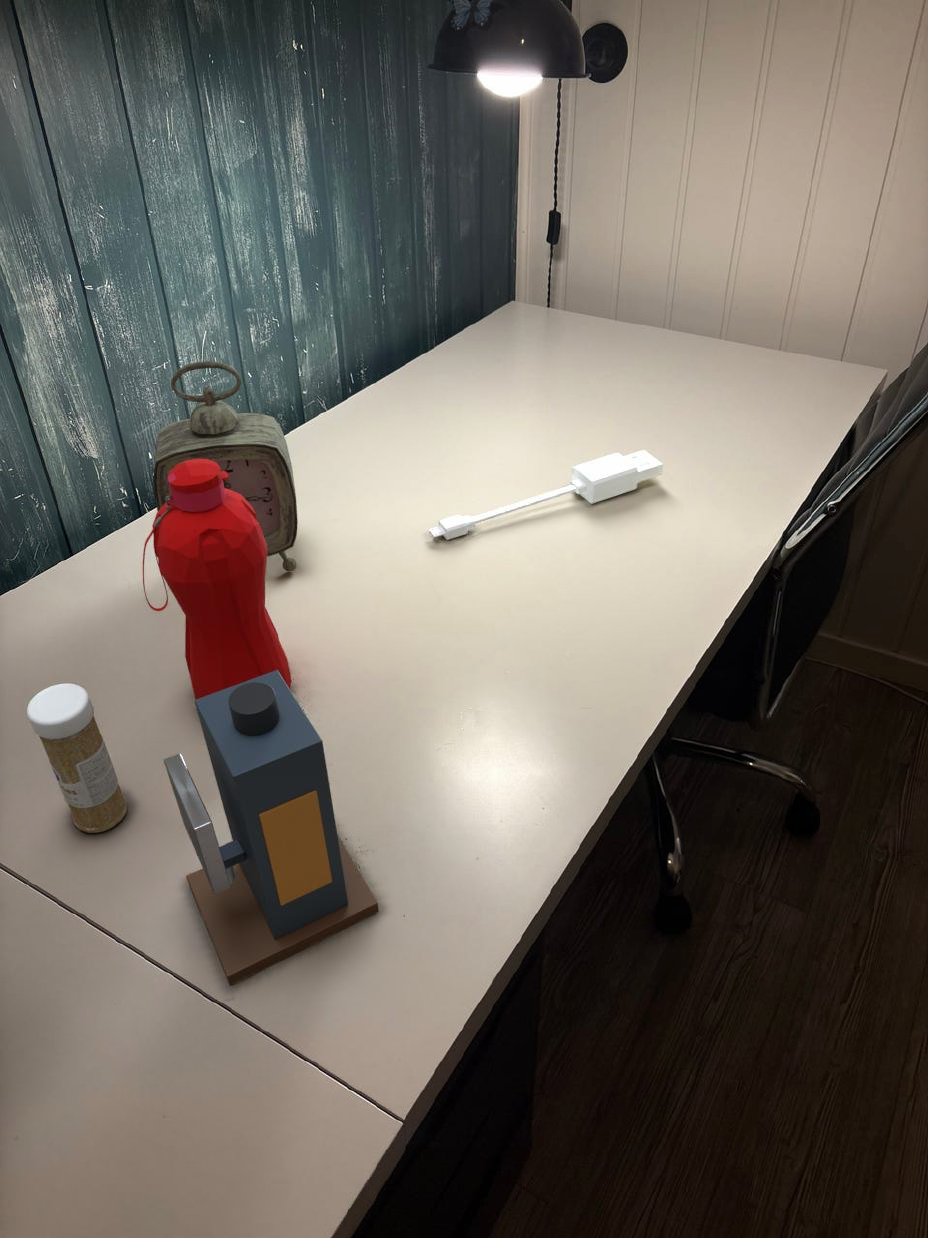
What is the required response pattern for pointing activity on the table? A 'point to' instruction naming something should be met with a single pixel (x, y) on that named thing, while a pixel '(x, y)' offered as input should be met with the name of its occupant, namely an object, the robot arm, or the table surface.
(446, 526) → the charging cable
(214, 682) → the water bottle
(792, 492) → the table surface
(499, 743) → the table surface
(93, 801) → the sprinkles bottle
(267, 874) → the dispenser
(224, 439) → the tabletop clock
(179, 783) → the brushed metal plate
